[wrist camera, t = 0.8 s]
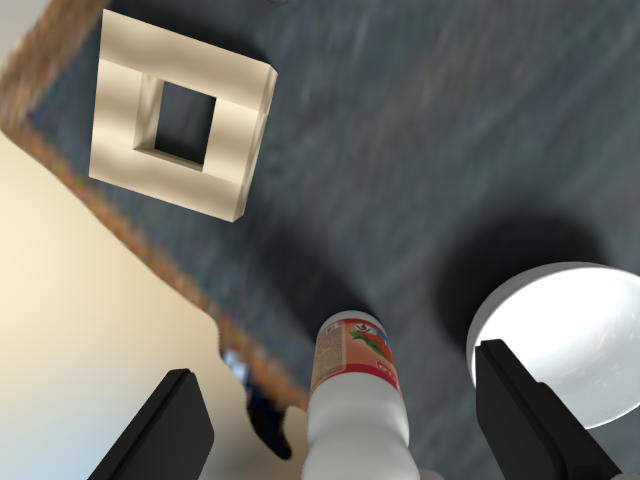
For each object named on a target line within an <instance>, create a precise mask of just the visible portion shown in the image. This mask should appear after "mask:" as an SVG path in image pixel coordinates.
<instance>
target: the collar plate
mask: <svg viewBox="0 0 640 480" xmlns="http://www.w3.org/2000/svg"><path fill="white" fill-rule="evenodd" d="M277 75H278V73H277V72H276V71H275V70H274V69H273V68H272V67H271V65H269V64H266V63H263V62H260V61H257V60H254V59H251V58H248V57H245V56H243V55H240V54H237V53H234V52H231V51H228V50H225V49H222V48H219V47H216V46H213V45H210V44H207V43H204V42H201V41H198V40H195V39H192V38H189V37H186V36H183V35H180V34H177V33H174V32H171V31H168V30H165V29H162V28H160V27H157V26H154V25H151V24H148V23H145V22H142V21H139V20H136V19H133V18H130V17H127V16H124V15H121V14H118V13H115V12H112V11H109V10H106V9H104V10H103V22H102V33H101V44H100V56H99V67H98V79H97V90H96V101H95V113H94V124H93V135H92V147H91V158H90V170H89V177H92V178H95V179H98V180H101V181H105V182H108V183H111V184H114V185H117V186H120V187H123V188H126V189H130V190H133V191H136V192H139V193H142V194H145V195H148V196H151V197H155V198H158V199H161V200H164V201H167V202H170V203H173V204H176V205H180V206H183V207H186V208H189V209H192V210H195V211H198V212H201V213H205V214H208V215H211V216H214V217H217V218H220V219H223V220H226V221H230V222H234V221H235V220H236V219H238V218H239V217H241V216H242V215H243V214H244V209H245V205H246V201H247V197H248V193H249V189H250V185H251V181H252V177H253V173H254V169H255V165H256V161H257V157H258V153H259V149H260V144H261V140H262V136H263V132H264V128H265V124H266V120H267V116H268V112H269V108H270V104H271V100H272V96H273V92H274V88H275V84H276V79H277ZM164 81H167V82H170V83H173V84H176V85H179V86H182V87H185V88H188V89H191V90H194V91H197V92H200V93H203V94H206V95H209V96H212V97H215V98H217V100H216V105H215V110H214V115H213V120H212V125H211V130H210V135H209V140H208V145H207V150H206V155H205V161H204V165H202V164H199V163H196V162H193V161H190V160H186V159H183V158H180V157H177V156H174V155H171V154H168V153H165V152H162V151H159V150H156V149H154V147H155V140H156V133H157V126H158V119H159V113H160V106H161V99H162V92H163V85H164Z"/></svg>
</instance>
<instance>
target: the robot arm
mask: <svg viewBox="0 0 640 480" xmlns="http://www.w3.org/2000/svg"><path fill="white" fill-rule="evenodd" d="M475 375H476V413H477V419H478V422H479V425H480V427H481V430H482V432H483V434H484V436H485V438H486V440H487V442H488V444H489V446H490V448H491V450H492V452H493V454H494V456H495V458H496V461H497V463H498V465H499V467H500V469H501V471H502V473H503V475H504V477H505V479H506V480H640V474H633V473H625V474H623V473H622V472H621V470H620V469H619V468H618V467H617V466H616V464H615V463H614V462H613V461H612V460H611V459H610V457H609V456H608V455H607V454H606V453H605V451H604V450H603V449H602V448H601V447H600V446H599V444H598V443H597V442H596V441H595V440H594V438H593V437H592V436H591V435H590V434H589V433H588V431H587V430H586V429H585V428H584V427H583V425H582V424H581V423H580V422H579V421H578V420H577V418H576V417H575V416H574V415H573V414H572V412H571V411H570V410H569V409H568V408H567V407H566V405H565V404H564V403H563V402H562V401H561V399H560V398H559V397H558V396H557V395H556V394H555V392H554V391H553V390H552V389H551V388H550V387H549V386H548V385H547V384H546V383H544V382H537V381H536V380H535V379H534V378H533V376H532V375H531V374H530V373H529V372H528V370H527V369H526V368H525V367H524V365H523V364H522V363H521V362H520V360H519V359H518V358H517V357H516V356H515V354H514V353H513V352H512V351H511V349H510V348H509V347H508V346H507V344H506V343H505V342H504V341H503V340H502V339H491V340H482V341H481V342H480V345H479V346H475ZM213 442H214V430H213V427H212V424H211V421H210V418H209V415H208V412H207V409H206V406H205V403H204V400H203V397H202V394H201V391H200V388H199V385H198V382H197V379H196V376H195V374H194V373H192V372H191V371H190V370H189V369H187V368H185V369H175V370H170V371H169V372H168V373H167V374H166V376H165V377H164V378H163V380H162V381H161V382H160V384H159V385H158V386H157V388H156V389H155V390H154V392H153V393H152V394H151V396H150V397H149V398H148V400H147V401H146V403H145V404H144V405H143V406H142V408H141V409H140V410H139V412H138V413H137V414H136V416H135V417H134V418H133V420H132V421H131V422H130V424H129V425H128V426H127V428H126V429H125V430H124V432H123V433H122V434H121V435H120V437H119V438H118V439H117V441H116V442H115V444H114V445H113V446H112V447H111V449H110V450H109V452H108V453H107V454H106V455H105V457H104V458H103V459H102V461H101V462H100V464H99V465H98V466H97V467H96V469H95V470H94V472H93V473H92V474H91V475H90V477H89V478H88V479H87V480H198V478H199V476H200V474H201V471H202V469H203V466H204V464H205V462H206V459H207V457H208V455H209V452H210V450H211V448H212V445H213Z"/></svg>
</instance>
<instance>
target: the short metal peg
mask: <svg viewBox="0 0 640 480" xmlns="http://www.w3.org/2000/svg"><path fill="white" fill-rule="evenodd" d="M269 1H270V2H272V3H274V4H278V5H283V4H286V3H288V2H290V1H291V0H269Z"/></svg>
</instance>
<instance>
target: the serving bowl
mask: <svg viewBox="0 0 640 480" xmlns="http://www.w3.org/2000/svg"><path fill="white" fill-rule="evenodd" d="M491 339H502V340H503V341H504V342H505V343H506V344H507V346H508V347H509V348H510V349H511V351H512V352H513V353H514V354H515V356H516V357H517V358H518V359H519V360H520V362H521V363H522V364H523V365H524V367H525V368H526V369H527V370H528V372H529V373H530V374H531V375H532V376H533V378H534V379H535V380H536V381H537V382H544V383H546V384H547V385H548V386H549V387H550V388H551V389H552V390H553V391H554V392H555V394H556V395H557V396H558V397H559V398H560V399H561V401H562V402H563V403H564V404H565V405H566V407H567V408H568V409H569V410H570V411H571V412H572V414H573V415H574V416H575V417H576V418H577V420H578V421H579V422H580V423H581V424H582V425H583V427H584V428H585V429H589V428H593V427H596V426H599V425H602V424H605V423H607V422H610V421H612V420H614V419H616V418H619V417H621V416H623V415H624V414H626V413H628V412H630V411H631V410H633V409H634V408H636V407H637V406H639V405H640V276H638V275H635V274H633V273H630V272H628V271H625V270H621V269H618V268H614V267H611V266H606V265H602V264H596V263H589V262H560V263H553V264H547V265H543V266H539V267H536V268H533V269H530V270H527V271H525V272H522V273H520V274H518V275H516V276H514V277H512V278H511V279H509V280H507V281H506V282H504V283H503V284H502V285H500V286H499V287H498V288H497V289H495V290H494V291H493V292H492V293H491V294H490V295H489V296H488V297H487V299H486V300H485V301H484V302H483V303H482V305H481V306H480V308H479V309H478V311H477V313H476V314H475V316H474V318H473V321H472V323H471V326H470V329H469V332H468V337H467V347H466V354H467V363H468V368H469V372H470V375H471V379H472V382H473V384H474V387H475V389H476V375H475V346H479V345H480V342H481V341H482V340H491Z"/></svg>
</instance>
